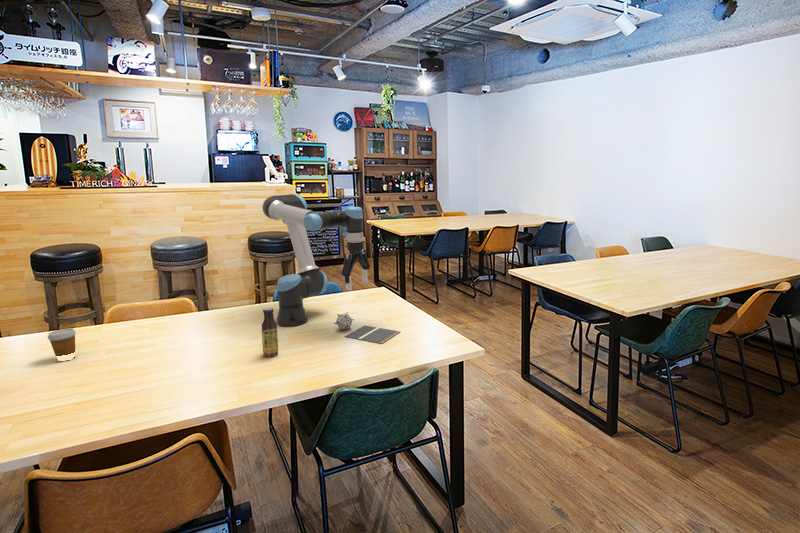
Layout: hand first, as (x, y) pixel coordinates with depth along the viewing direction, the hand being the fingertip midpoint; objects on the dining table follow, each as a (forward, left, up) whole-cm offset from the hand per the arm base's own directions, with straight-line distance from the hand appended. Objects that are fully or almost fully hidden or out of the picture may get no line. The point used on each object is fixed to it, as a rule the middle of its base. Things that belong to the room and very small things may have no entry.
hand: (357, 286), depth 212 cm
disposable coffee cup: (-92, -83, -21) cm, 125 cm away
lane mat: (+10, -4, -21) cm, 24 cm away
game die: (-6, -4, -21) cm, 22 cm away
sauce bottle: (-15, -42, -21) cm, 49 cm away
